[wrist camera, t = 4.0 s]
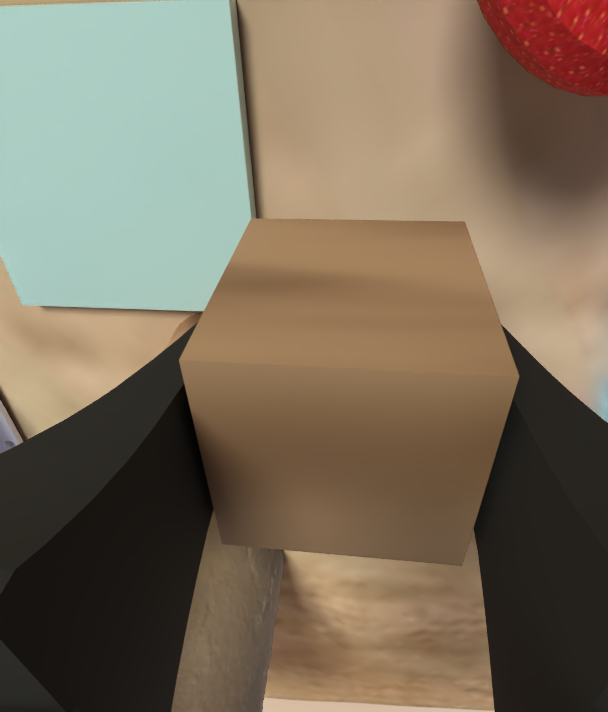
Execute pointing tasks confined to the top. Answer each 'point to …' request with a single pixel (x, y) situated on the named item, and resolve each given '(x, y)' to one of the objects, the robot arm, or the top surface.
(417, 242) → the walnut block
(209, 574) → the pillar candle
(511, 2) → the strawberry
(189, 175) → the coaster
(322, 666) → the top surface
